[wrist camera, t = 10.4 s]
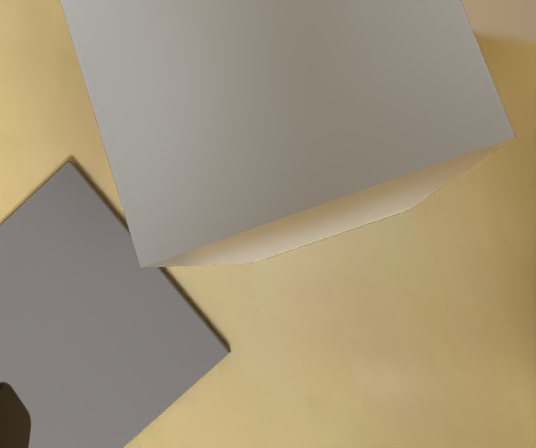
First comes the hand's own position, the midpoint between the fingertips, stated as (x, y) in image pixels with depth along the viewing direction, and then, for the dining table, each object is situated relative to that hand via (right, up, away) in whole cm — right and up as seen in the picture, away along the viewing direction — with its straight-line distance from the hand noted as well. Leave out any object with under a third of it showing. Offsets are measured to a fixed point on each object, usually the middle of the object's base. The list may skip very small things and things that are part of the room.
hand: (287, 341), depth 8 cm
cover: (+1, +5, +13) cm, 14 cm away
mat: (-10, -3, +14) cm, 17 cm away
